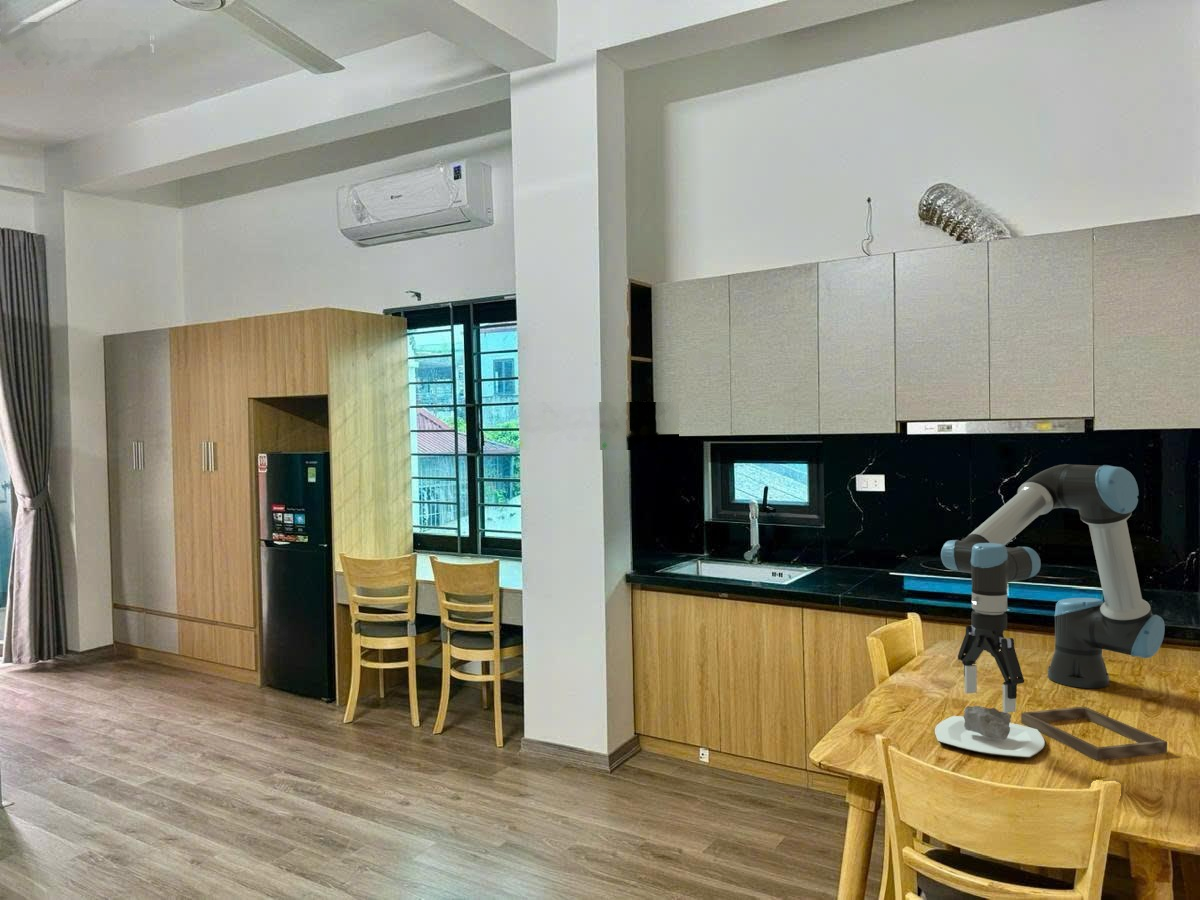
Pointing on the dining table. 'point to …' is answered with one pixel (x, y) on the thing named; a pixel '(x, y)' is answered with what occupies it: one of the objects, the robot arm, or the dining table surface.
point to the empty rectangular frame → (1146, 741)
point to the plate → (990, 739)
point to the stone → (987, 722)
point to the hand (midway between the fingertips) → (989, 702)
